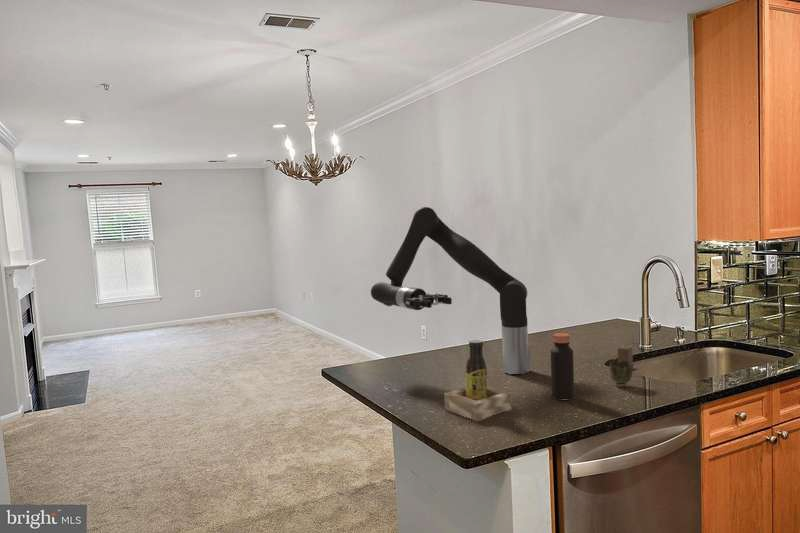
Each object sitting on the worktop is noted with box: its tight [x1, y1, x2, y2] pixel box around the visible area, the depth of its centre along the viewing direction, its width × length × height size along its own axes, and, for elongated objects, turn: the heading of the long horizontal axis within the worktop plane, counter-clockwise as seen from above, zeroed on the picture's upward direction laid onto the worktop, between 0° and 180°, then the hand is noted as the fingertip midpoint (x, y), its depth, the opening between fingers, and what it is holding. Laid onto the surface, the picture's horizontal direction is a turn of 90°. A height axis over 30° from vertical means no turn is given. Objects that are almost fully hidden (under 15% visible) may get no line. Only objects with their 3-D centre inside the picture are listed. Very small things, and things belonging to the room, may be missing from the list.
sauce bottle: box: [465, 339, 488, 401], centre depth 175 cm, size 6×6×20 cm
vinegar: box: [550, 332, 575, 400], centre depth 183 cm, size 7×7×20 cm
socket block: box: [443, 386, 512, 422], centre depth 176 cm, size 14×14×5 cm
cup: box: [608, 359, 634, 388], centre depth 191 cm, size 8×7×8 cm
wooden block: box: [617, 345, 634, 364], centre depth 211 cm, size 4×4×8 cm
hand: (440, 302), depth 192 cm, fingers open, 8 cm apart
